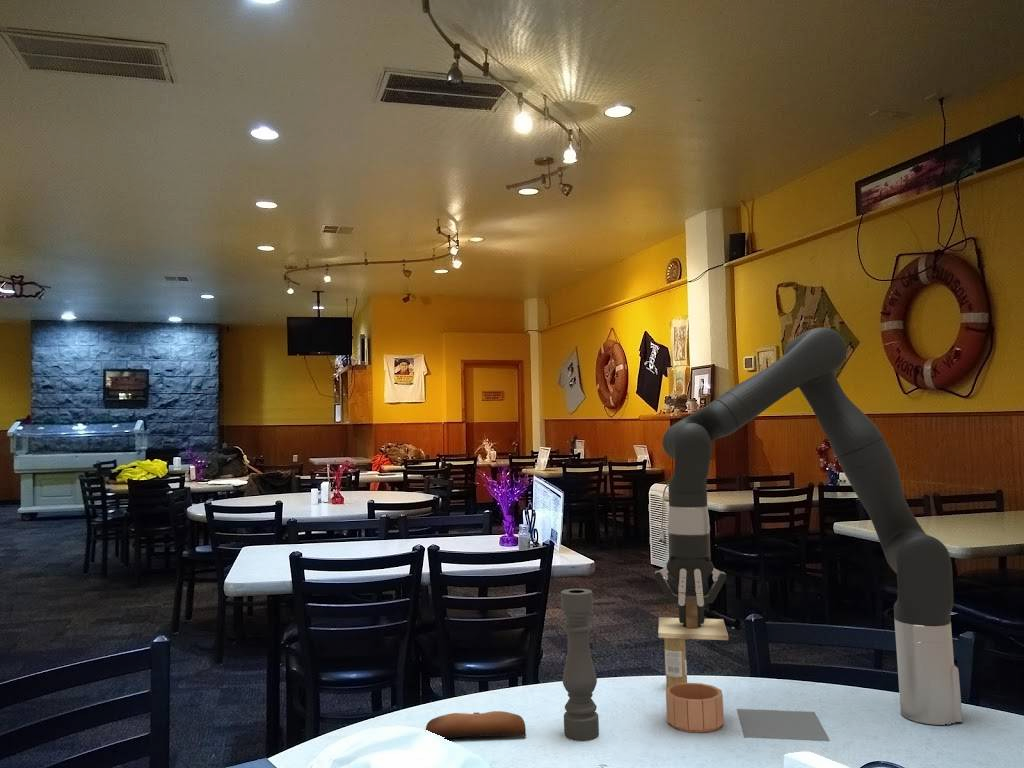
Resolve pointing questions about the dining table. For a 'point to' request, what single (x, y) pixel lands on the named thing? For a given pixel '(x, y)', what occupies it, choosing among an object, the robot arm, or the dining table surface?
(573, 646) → the candle holder
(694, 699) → the wooden bowl
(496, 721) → the sunglasses case
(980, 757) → the dining table surface
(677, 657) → the sprinkles bottle
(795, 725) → the rubber mat
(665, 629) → the birch cover
